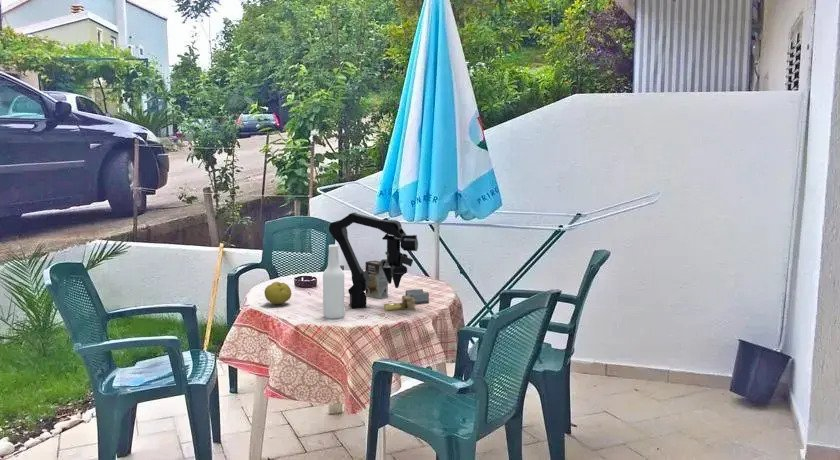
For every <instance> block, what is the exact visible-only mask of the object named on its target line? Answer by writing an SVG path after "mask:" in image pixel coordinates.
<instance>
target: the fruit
mask: <svg viewBox="0 0 840 460" xmlns="http://www.w3.org/2000/svg"><path fill="white" fill-rule="evenodd" d="M291 296H292V290H291V287H290V286H289V285H288V284H287V283H285V282H280V281H275V282H272V283H271V284H269V285H267V286H266V287H265V289H264V297H265V299H266V300H267V302H269V303H271V304H273V305H275V306H277V305H278V306H279V305H282V304H283V305H284V303H286V302H287V301H289V300H290V299H291Z"/></svg>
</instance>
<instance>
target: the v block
mask: <svg viewBox="0 0 840 460" xmlns="http://www.w3.org/2000/svg"><path fill="white" fill-rule="evenodd" d="M405 295H409V296H411V297H412V298H414V299H415V305H420V304H429V303H430V293H429V292H428V291H427V292H424V290H423V288H420V289H409V290H407V289H406V290H405Z"/></svg>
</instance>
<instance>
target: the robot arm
mask: <svg viewBox="0 0 840 460" xmlns="http://www.w3.org/2000/svg"><path fill="white" fill-rule="evenodd" d="M352 224H357V225H361V226H366V227H369V228H370V227H371V228H372V229H373V228H374V229H378V230H380V231H381V232H383V233H385V235H384V236H383V237H381V239H382V241H383V240H385V241H386V251H384V253H385V255H386V258H385V259H381V260H379V261H380V266H382V267H381V268H382V270H383V272H384V274H385V276H386V279H387V281H388V285H389V284H390V285H391V284H392V282H393V285H394V287H395V289H398V288H399V287H400V283H401V280H402V277H403V276H404V275H406V274H407V273H408V267H412V265H413V261H414V259H413V258H411V257H409V256H408V254H406V253H402V252H401V249H402V250H403V251H409V252H418V248H419V242H418V241H419V240H418V238H417V237H418V236H417V234H413V235H412V234H407V233H406V232H405V231H404V230H403V229H404V228H402V224H401V222H400V220H396V219H380V218H376V217H373V216H372V217H371V216H367V215H364V214H359V213H357V212H351V213H349V214H348V215H346V216H344V217H343V218H341V219H339V220H335V221H333V222H331V223H330V224H329V227H328V232H329V233H330V235H331V237H332V238H333V239H334V240H335V241H336V242H337V244H338V246H339V248H340V249H341V252H342V254H343V258H344V259H345V261H346V264H347V266H348V267H349V268H348V269H349V271H350V272H351V281H352V284H353V285H352V286H351V287H349V288H348V290H347V291H348V295H349V303H348V306H349V307H350V308H351V309H361V308H367V307H368V306H367V296H366V288H367V287H368V286H369V284H370V277H369V275H368V272H367V270H366V269H365V270H363V269H362V267H361V265H360V263H359V261H358V259H357V256H356V254H355V252H354V249H353V247H352V245H351V243H350V240H349V237H348V234H349V233H348V229H347V228H348V227H349V226H350V225H352ZM407 266H408V267H407Z"/></svg>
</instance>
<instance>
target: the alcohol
mask: <svg viewBox="0 0 840 460" xmlns="http://www.w3.org/2000/svg"><path fill="white" fill-rule="evenodd" d="M322 304H323V305H322V309H323V310H322V315H323V317H324V318H325V319H329V320H337V319H342V318H344V316H345V313H346V312H345V307H346V306H345V305H346V304H345V272H344V271H343V269H342V268H341V265H340V260H339V244H334V243H333V244H329V245H328V257H327V266H326V268H325V270H324V271H323V274H322Z"/></svg>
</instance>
